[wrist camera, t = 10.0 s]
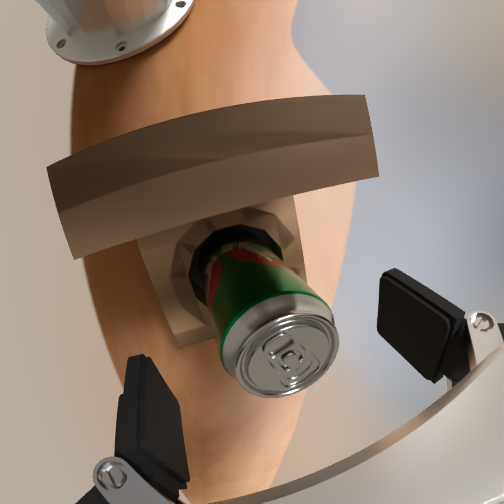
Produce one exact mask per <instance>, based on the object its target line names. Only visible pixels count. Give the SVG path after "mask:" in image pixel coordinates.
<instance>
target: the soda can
mask: <svg viewBox="0 0 504 504" xmlns="http://www.w3.org/2000/svg"><path fill="white" fill-rule="evenodd" d="M198 266H199V271H200V276H201V280H202V285H203V289H204V294H205V298H206V302H207V306H208V311H209V315H210V319H211V323H212V327H213V331H214V335H215V339H216V343H217V347H218V350H219V354H220V358H221V361H222V364H223V366H224V368H225V370H226V372H227V373H228V374H229V375H230V376H231V377H232V378H234V379H235V380H236V381H238V382H239V384H240V385H241V386H242V387H243V388H244V389H245V390H246V391H248V392H249V393H251V394H253V395H256V396H259V397H265V398H277V397H284V396H288V395H292V394H294V393H297V392H299V391H301V390H303V389H305V388H307V387H309V386H310V385H312V384H313V383H314V382H316V381H317V380H318V379H319V378H320V377H322V376H323V374H325V372H326V371H327V370H328V369H329V367H330V366H331V365H332V363H333V361H334V359H335V357H336V354H337V352H338V347H339V337H338V332H337V330H336V327H335V326H334V324H335V323H334V317H333V314H332V311H331V309H330V308H329V306H328V305H327V303H326V302H325V301H324V300H323V299H321V298H320V297H319V296H318V295H317V294H316V293H315V292H314V291H313V290H312V289H311V288H310V287H309V286H308V285H307V284H306V283H305V282H304V281H303V280H302V279H301V278H300V277H299V276H298V275H296V274H295V273H294V272H293V271H292V270H291V269H290V268H289V267H288V266H287V265H286V264H285V263H284V262H283V261H282V260H281V259H280V258H279V257H278V256H276V255H275V254H274V253H273V252H272V251H271V250H270V249H269V248H268V247H267V246H266V245H265V244H264V243H263V242H262V241H261V240H260V239H258V238H257V237H256V236H255V235H254V234H253V233H251V232H250V231H247V230H245V229H241V228H226V229H223V230H220V231H218V232H216V233H214V234H213V235H212V236H210V237H209V238H208V239H207V240H206V241H205V243H204V244H203V246H202V248H201V250H200V253H199V258H198Z"/></svg>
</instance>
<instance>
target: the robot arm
mask: <svg viewBox="0 0 504 504" xmlns="http://www.w3.org/2000/svg"><path fill="white" fill-rule="evenodd" d="M36 1H37V2H38V3H39V4H40V6H41V7H42V8H43V9H44V10H45V11H46V12H47V13H48V15H49V17H48V21H47V27H46V35H47V40H48V43H49V45H50V47H51V48H52V49H53V51H54V52H55V53H56V54H57V55H59V56H60V57H61V58H63V59H64V60H67V61H69V62H71V63H74V64H80V65H101V64H106V63H113V62H116V61H119V60H122V59H126V58H129V57H131V56H133V55H136V54H138V53H141V52H143V51H145V50H147V49H148V48H150V47H152V46H154V45H155V44H157V43H159V42H160V41H161V40H163V39H164V38H166V37H167V36H168V35H170V34H171V33H172V32H173V31H174V30H175V29H176V28H177V27H178V26H180V25H181V23H182V22H183V21H184V19H185V18H186V17H187V16H188V14H189V13H190V10H191V8H192V6H193V5H194V1H195V0H36ZM122 49H125V50H123V51H121V50H122ZM379 285H380V286H379V305H378V318H377V331H378V333H379V334H380V335H381V336H382V337H383V338H384V339H385V340H386V341H387V342H388V343H389V344H390V345H391V346H392V347H393V348H394V349H395V350H396V351H398V353H399V354H401V355H402V356H403V357H404V358H405V359H406V360H407V361H408V362H409V363H410V364H411V365H412V366H413V367H414V368H415V369H416V370H417V371H418V372H419V373H420V374H421V375H422V376H423V377H424V378H426V379H427V380H431V381H432V382H433V383H434V384H435V383H436V382H437V381H439V380H440V379H441V378H442V377H443V375H445V376H446V377H447V389H448V392H447V393H446V394H444V395H443V396H442V397H441V398H440V399H438V400H437V401H436V402H434V403H433V404H432V405H431V406H429V407H428V408H427V409H425V410H424V411H423V412H421V413H420V414H419V415H417V416H416V417H415V418H413V419H411V420H410V421H409V422H407V423H406V424H404V425H403V426H401V427H400V428H398V429H397V430H395V431H394V432H392V433H390V434H389V435H387V436H386V437H384V438H382V439H381V440H379V441H377V442H375V443H374V444H372V445H370V446H369V447H367V448H365V449H363V450H361V451H359V452H357V453H355V454H353V455H352V456H350V457H348V458H346V459H344V460H342V461H340V462H337V463H335V464H333V465H331V466H329V467H326V468H324V469H322V470H319V471H317V472H315V473H312V474H310V475H307V476H305V477H302V478H299V479H297V480H294V481H291V482H288V483H286V484H283V485H280V486H277V487H273V488H270V489H267V490H263V491H260V492H256V493H253V494H249V495H245V496H241V497H237V498H233V499H229V500H224V501H219V502H214V503H209V504H504V323H497V321H496V320H495V318H494V317H493V316H492V315H491V314H490V313H488V312H485V311H481V310H477V311H473V312H471V313H470V314H469V315H468V317H467V320H466V319H465V318H464V315H465V312H464V311H463V310H461V309H460V308H458V307H457V306H455V305H454V304H452V303H451V302H449V301H448V300H446V299H445V298H443V297H441V296H440V295H438V294H437V293H435V292H434V291H432V290H431V289H429V288H427V287H426V286H424V285H423V284H421V283H420V282H418V281H416V280H415V279H413V278H411V277H410V276H408V275H406V274H405V273H403V272H402V271H400V270H398V269H396V268H393V269H391V270H388V271H386V272H384V273H383V274H382V277H381V278H380V284H379ZM93 481H94V483H95V486H94V487H93V488H92V489H91V490H90V491H89V492H87V493H86V494H85V495H84V496H83V497H82V498H81V499H80V500H79V501H78V502H77V503H76V504H185V503H184V502H183V501H181V500H180V499H179V498H178V497H179V491H178V490H181V489H187V484H186V482H189V481H190V476H189V470H188V464H187V458H186V452H185V445H184V438H183V430H182V422H181V414H180V406H179V403H178V401H177V399H176V398H175V396H174V395H173V393H172V392H171V390H170V389H169V387H168V385H167V384H166V382H165V381H164V379H163V378H162V376H161V374H160V373H159V371H158V369H157V368H156V366H155V364H154V363H153V361H152V359H151V358H150V357H145V355H144V354H140V355H136V356H131V357H129V358H128V361H127V368H126V376H125V384H124V393H123V394H121V395H120V396H119V401H118V411H117V421H116V434H115V454H114V457H107V458H104V459H103V460H101V461H100V462H99V463H98V464H97V465H96V466H95V469H94V471H93Z"/></svg>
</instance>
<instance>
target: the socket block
mask: <svg viewBox="0 0 504 504" xmlns="http://www.w3.org/2000/svg"><path fill="white" fill-rule="evenodd" d="M47 172H48V177H49V181H50V185H51V189H52V193H53V197H54V200H55V204H56V207H57V211H58V214H59V218H60V221H61V224H62V227H63V230H64V233H65V236H66V239H67V242H68V244H69V247H70V250H71V253H72V255H73V257H74V260H75V259H78V258H81V257H84V256H87V255H90V254H92V253H95V252H98V251H101V250H104V249H107V248H110V247H113V246H116V245H119V244H122V243H125V242H128V241H131V240H134V239H136V241H137V244H138V247H139V250H140V252H141V255H142V258H143V261H144V264H145V266H146V269H147V272H148V274H149V277H150V280H151V282H152V285H153V287H154V290H155V292H156V295H157V297H158V300H159V302H160V305H161V307H162V309H163V312H164V314H165V317H166V319H167V321H168V323H169V326H170V328H171V330H172V332H173V335H174V337H175V339H176V341H177V343H178V345H179V347H182V346H186V345H189V344H193V343H197V342H200V341H204V340H207V339H211V338H214V337H215V335H214V331H213V327H212V323H211V319H210V315H209V311H208V306H207V302H206V298H205V294H204V289H203V285H202V280H201V276H200V271H199V266H198V258H199V253H200V250H201V248H202V246H203V244H204V243H205V241H206V240H207V239H208V238H209V237H210V236H212V235H213V234H214V233H216V232H218V231H220V230H223V229H226V228H241V229H245V230H247V231H250V232H251V233H253V234H254V235H255V236H256V237H257V238H258V239H260V240H261V241H262V242H263V243H264V244H265V245H266V246H267V247H268V248H269V249H270V250H271V251H272V252H273V253H274V254H275V255H276V256H278V257H279V258H280V259H281V260H282V261H283V262H284V263H285V264H286V265H287V266H288V267H289V268H290V269H291V270H292V271H293V272H294V273H295V274H296V275H298V276H299V277H300V278H301V279H302V280H303V281H304V282H305V283H306V284H307V279H306V272H305V265H304V258H303V252H302V245H301V239H300V233H299V227H298V221H297V215H296V209H295V203H294V198H293V195H296V194H300V193H304V192H308V191H313V190H317V189H321V188H326V187H330V186H335V185H339V184H344V183H349V182H354V181H358V180H363V179H368V178H373V177H378V176H379V173H378V164H377V157H376V151H375V144H374V138H373V133H372V127H371V122H370V117H369V112H368V107H367V103H366V98H365V95H323V96H306V97H294V98H283V99H274V100H266V101H259V102H252V103H246V104H239V105H234V106H228V107H223V108H218V109H213V110H208V111H204V112H199V113H195V114H191V115H187V116H183V117H179V118H175V119H171V120H167V121H164V122H160V123H157V124H154V125H150V126H147V127H144V128H141V129H138V130H135V131H132V132H129V133H126V134H123V135H120V136H117V137H115V138H112V139H109V140H107V141H104V142H101V143H99V144H96V145H94V146H92V147H89V148H87V149H84V150H82V151H80V152H77V153H75V154H73V155H71V156H69V157H67V158H64V159H62V160H60V161H58V162H56V163H54V164H52V165H50V166H48V167H47Z"/></svg>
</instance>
